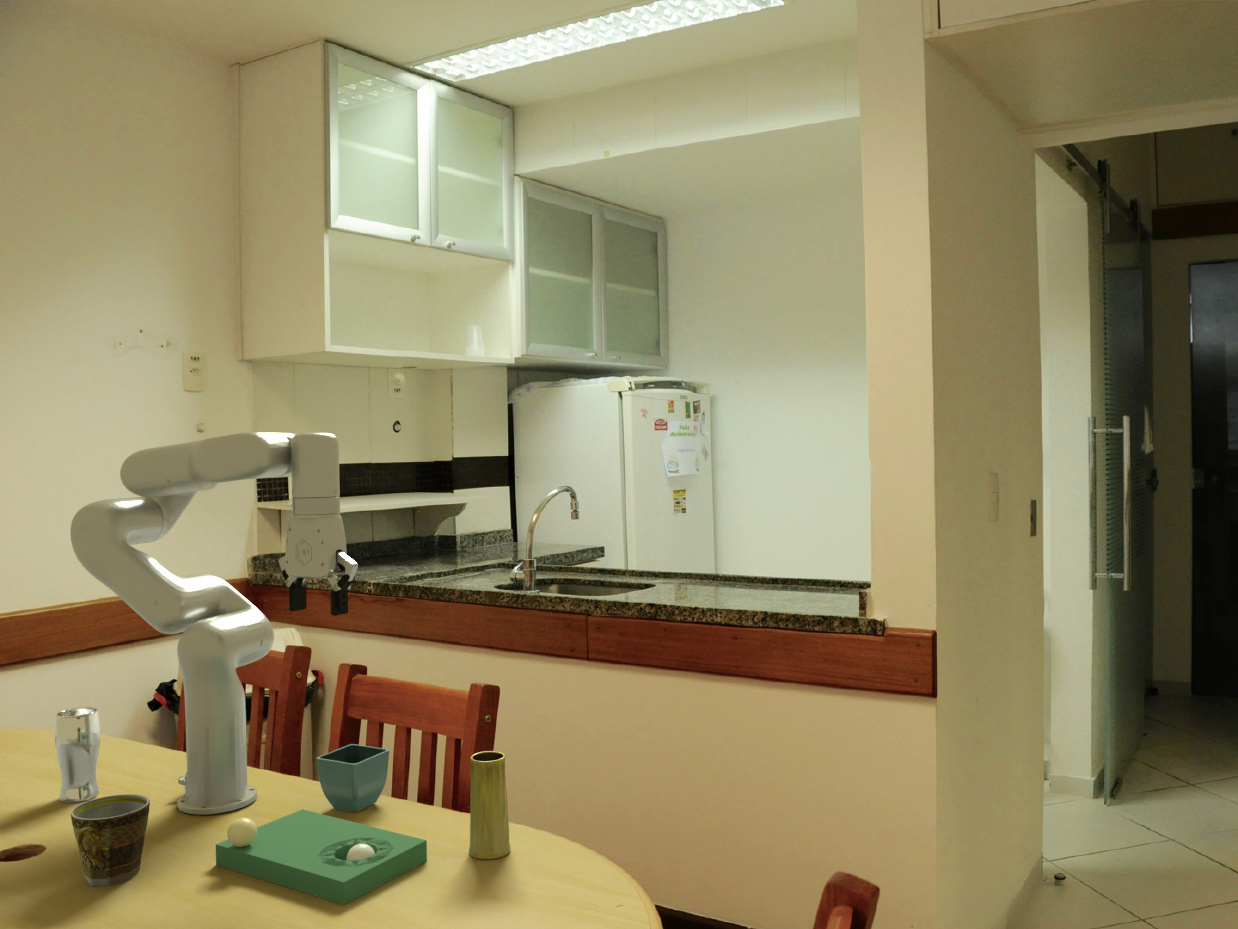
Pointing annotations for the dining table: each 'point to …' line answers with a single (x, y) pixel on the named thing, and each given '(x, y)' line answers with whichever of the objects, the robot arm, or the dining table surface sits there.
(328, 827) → the putting mat
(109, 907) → the dining table surface
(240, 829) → the yellow ball
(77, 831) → the ceramic cup
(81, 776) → the beer glass
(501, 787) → the vase
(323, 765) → the flower pot
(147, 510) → the robot arm
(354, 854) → the white ball
